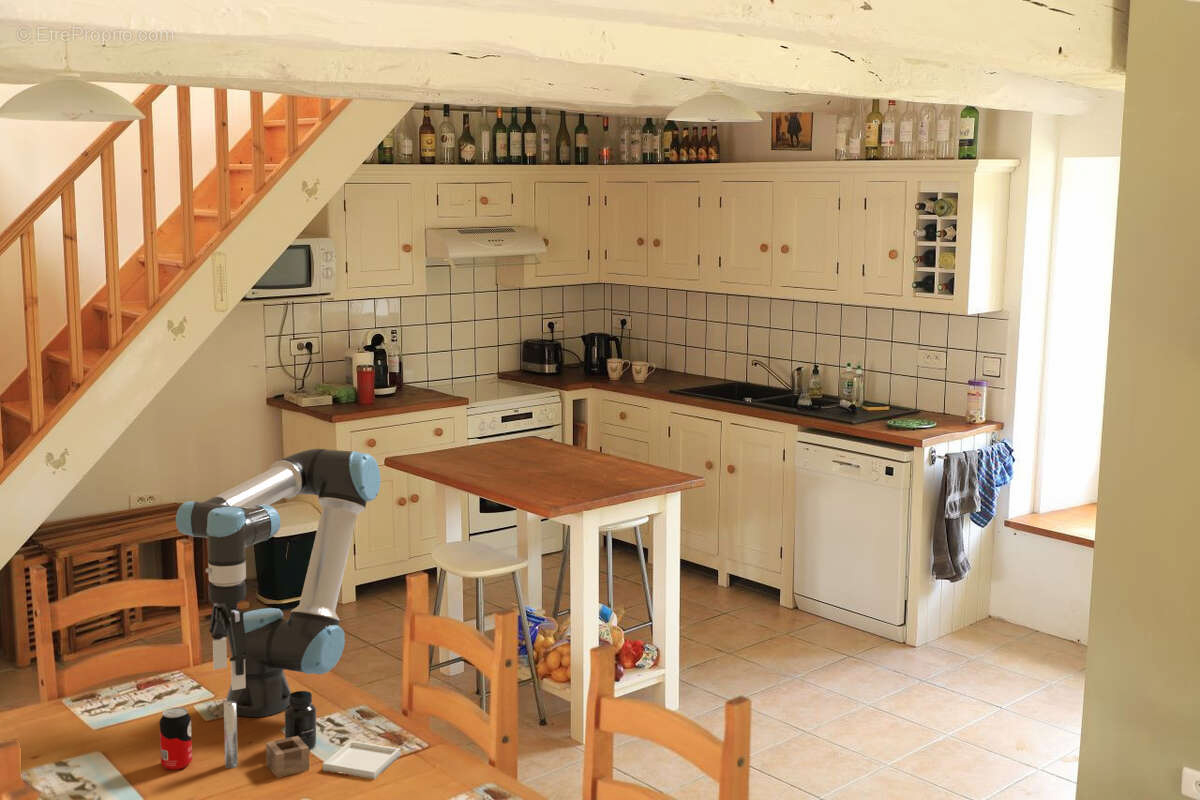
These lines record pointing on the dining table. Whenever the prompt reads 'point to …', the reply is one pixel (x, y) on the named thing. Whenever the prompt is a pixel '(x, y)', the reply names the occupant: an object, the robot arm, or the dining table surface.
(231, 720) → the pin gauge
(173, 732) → the beverage can
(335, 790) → the dining table surface
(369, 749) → the tray
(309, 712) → the supplement bottle
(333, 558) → the robot arm
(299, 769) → the brown peg holder block
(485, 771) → the dining table surface
